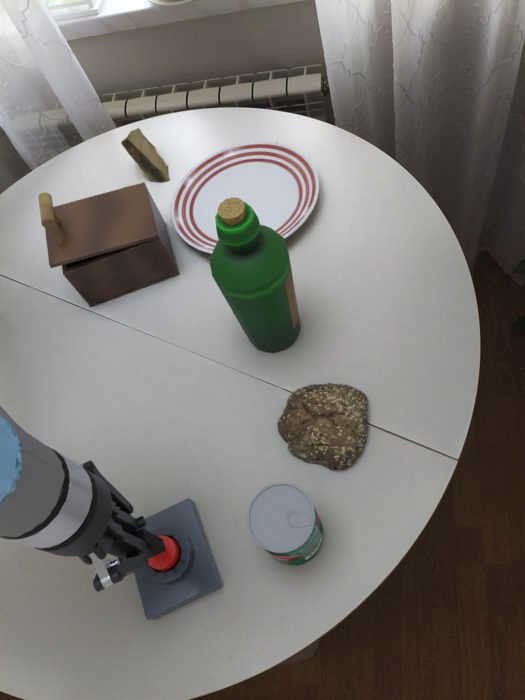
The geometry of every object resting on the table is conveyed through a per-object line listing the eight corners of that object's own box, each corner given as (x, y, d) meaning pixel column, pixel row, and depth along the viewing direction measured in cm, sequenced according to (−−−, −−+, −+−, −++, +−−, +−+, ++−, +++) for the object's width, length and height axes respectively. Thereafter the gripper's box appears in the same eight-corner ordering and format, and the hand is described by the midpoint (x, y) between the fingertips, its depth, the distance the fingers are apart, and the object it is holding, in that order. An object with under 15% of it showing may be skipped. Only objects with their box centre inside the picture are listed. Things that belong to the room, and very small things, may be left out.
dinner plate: (147, 216, 106) (141, 204, 103) (252, 133, 111) (248, 119, 108) (239, 293, 93) (235, 281, 90) (353, 194, 98) (351, 181, 96)
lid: (51, 268, 88) (32, 239, 82) (44, 213, 94) (26, 182, 88) (159, 238, 89) (148, 207, 83) (145, 185, 95) (134, 153, 90)
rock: (128, 138, 115) (111, 168, 109) (140, 106, 108) (122, 136, 102) (176, 164, 117) (162, 195, 112) (190, 135, 111) (175, 166, 105)
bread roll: (376, 394, 80) (376, 379, 75) (358, 476, 74) (357, 465, 70) (291, 378, 83) (286, 363, 79) (269, 456, 78) (262, 444, 74)
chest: (91, 307, 98) (62, 274, 89) (82, 254, 104) (55, 219, 96) (179, 274, 97) (159, 238, 89) (165, 224, 104) (146, 185, 96)
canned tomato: (259, 561, 72) (240, 546, 62) (270, 500, 75) (253, 478, 66) (320, 571, 70) (309, 558, 60) (328, 508, 73) (319, 486, 64)
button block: (128, 532, 77) (116, 526, 74) (194, 501, 77) (185, 494, 74) (152, 620, 71) (140, 618, 67) (223, 586, 71) (215, 582, 68)
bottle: (320, 317, 88) (294, 189, 64) (283, 370, 84) (241, 257, 60) (265, 292, 92) (221, 164, 68) (228, 342, 89) (169, 225, 65)
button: (146, 546, 72) (141, 543, 70) (174, 532, 72) (169, 530, 71) (155, 576, 70) (150, 574, 68) (183, 562, 70) (179, 560, 69)
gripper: (3, 456, 51) (113, 513, 71) (25, 599, 44) (140, 617, 64) (78, 421, 51) (166, 488, 71) (112, 558, 44) (199, 589, 64)
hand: (154, 549), depth 68 cm, fingers closed
